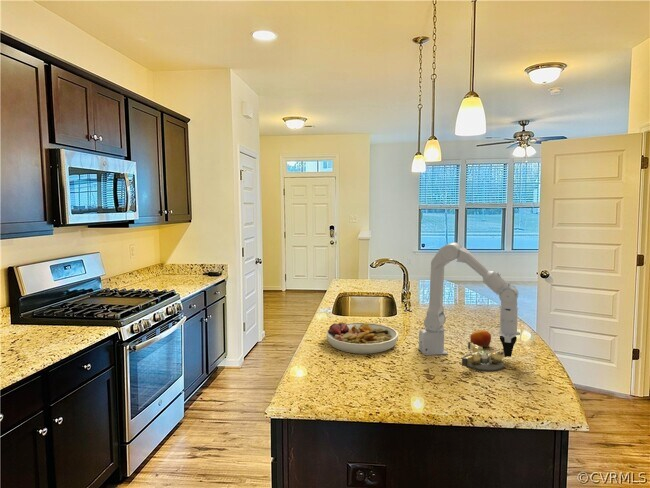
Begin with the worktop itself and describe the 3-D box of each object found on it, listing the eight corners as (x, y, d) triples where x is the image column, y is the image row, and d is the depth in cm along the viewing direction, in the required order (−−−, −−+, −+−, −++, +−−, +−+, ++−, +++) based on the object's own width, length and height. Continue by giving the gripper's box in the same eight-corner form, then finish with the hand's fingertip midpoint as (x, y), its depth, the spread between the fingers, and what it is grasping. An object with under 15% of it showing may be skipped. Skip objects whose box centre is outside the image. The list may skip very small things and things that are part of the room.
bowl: (401, 336, 186) (401, 318, 185) (393, 360, 157) (393, 339, 156) (336, 331, 194) (336, 314, 193) (317, 353, 165) (317, 333, 164)
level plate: (472, 372, 144) (473, 359, 143) (456, 357, 158) (456, 346, 157) (511, 370, 145) (511, 357, 144) (491, 356, 159) (492, 344, 158)
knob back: (484, 356, 154) (484, 347, 154) (474, 357, 154) (475, 348, 153) (474, 349, 162) (474, 340, 162) (465, 349, 162) (465, 340, 162)
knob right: (498, 364, 147) (499, 354, 146) (489, 361, 149) (489, 352, 149) (510, 358, 152) (510, 349, 152) (500, 355, 155) (500, 346, 155)
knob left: (474, 359, 151) (474, 350, 151) (482, 362, 148) (483, 353, 148) (459, 365, 146) (459, 355, 146) (467, 368, 143) (468, 358, 143)
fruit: (481, 348, 163) (475, 328, 167) (470, 352, 170) (465, 333, 174) (498, 346, 166) (492, 326, 169) (487, 350, 172) (481, 331, 176)
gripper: (520, 325, 141) (519, 364, 142) (520, 315, 154) (520, 351, 155) (498, 323, 144) (497, 361, 145) (500, 314, 157) (499, 348, 159)
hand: (507, 356), depth 151 cm, fingers closed, pressing on knob right
